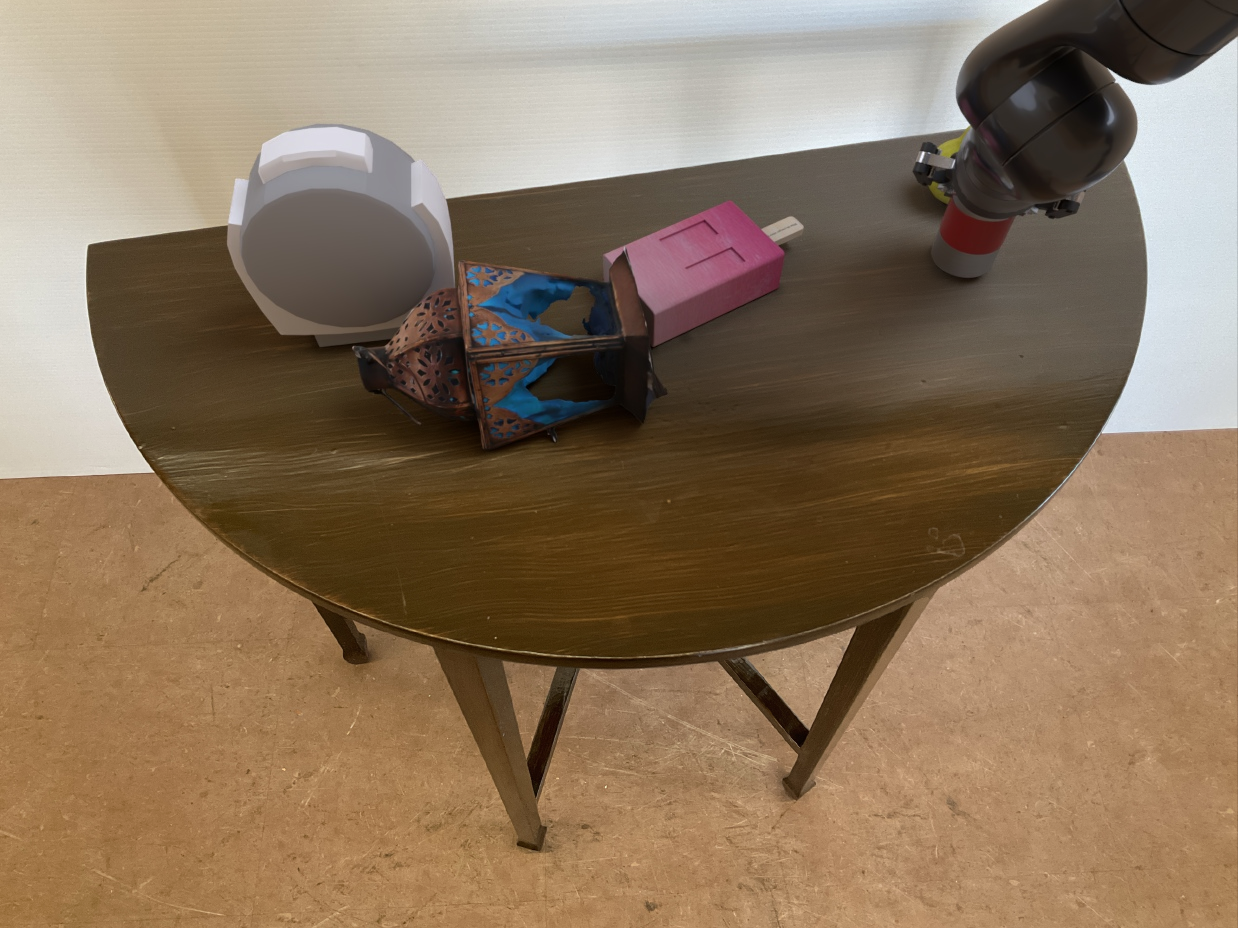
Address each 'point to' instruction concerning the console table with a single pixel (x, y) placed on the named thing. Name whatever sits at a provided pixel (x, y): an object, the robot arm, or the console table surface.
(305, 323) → the alarm clock
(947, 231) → the can
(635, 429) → the console table surface
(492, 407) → the lantern
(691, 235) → the popsicle
